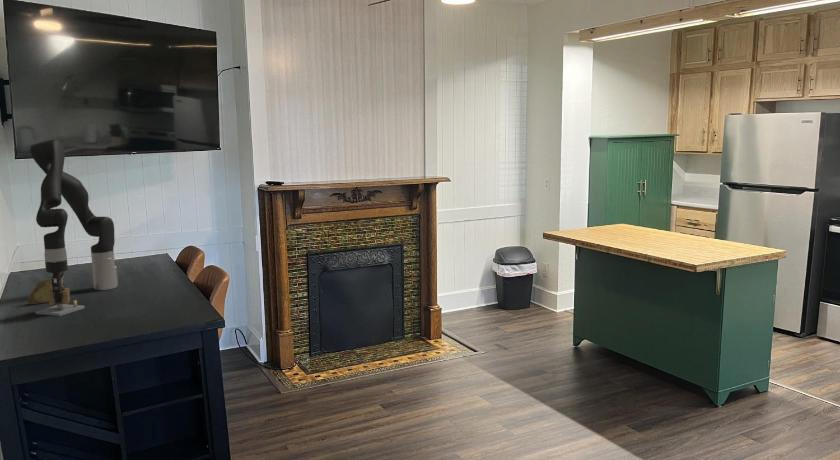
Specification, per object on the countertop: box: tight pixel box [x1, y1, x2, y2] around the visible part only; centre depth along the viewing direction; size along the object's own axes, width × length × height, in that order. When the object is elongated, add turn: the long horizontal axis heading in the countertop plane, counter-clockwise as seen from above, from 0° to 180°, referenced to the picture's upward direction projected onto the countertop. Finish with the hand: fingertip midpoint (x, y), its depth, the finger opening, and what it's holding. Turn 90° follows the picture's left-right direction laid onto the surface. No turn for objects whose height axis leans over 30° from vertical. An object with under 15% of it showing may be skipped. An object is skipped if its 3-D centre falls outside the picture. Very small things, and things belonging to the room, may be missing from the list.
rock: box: [27, 279, 53, 305], centre depth 264 cm, size 11×9×10 cm
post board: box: [35, 300, 85, 317], centre depth 248 cm, size 12×12×7 cm
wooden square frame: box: [48, 287, 71, 306], centre depth 248 cm, size 6×6×5 cm
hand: (59, 300), depth 248 cm, fingers closed on wooden square frame, 6 cm apart
